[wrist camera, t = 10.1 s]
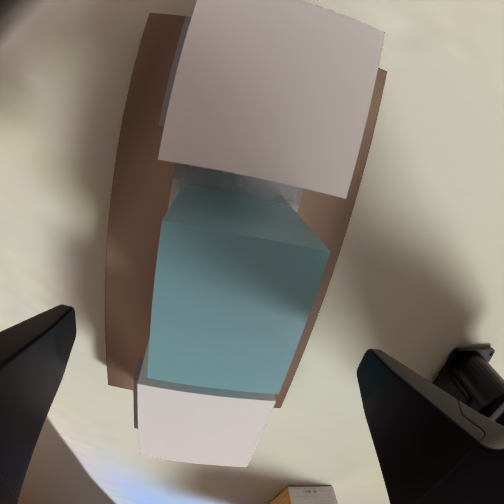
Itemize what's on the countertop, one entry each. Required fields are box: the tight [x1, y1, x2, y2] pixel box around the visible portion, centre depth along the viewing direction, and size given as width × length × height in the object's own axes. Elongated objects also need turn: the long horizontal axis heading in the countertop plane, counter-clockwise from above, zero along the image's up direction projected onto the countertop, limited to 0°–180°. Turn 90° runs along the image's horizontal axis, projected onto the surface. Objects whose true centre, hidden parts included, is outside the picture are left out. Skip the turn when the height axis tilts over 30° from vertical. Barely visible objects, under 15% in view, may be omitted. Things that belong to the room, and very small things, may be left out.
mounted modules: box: [133, 0, 385, 467], centre depth 13 cm, size 6×21×5 cm, turn 167°
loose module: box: [147, 184, 330, 394], centre depth 13 cm, size 5×6×6 cm
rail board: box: [105, 13, 387, 408], centre depth 17 cm, size 12×22×2 cm, turn 167°
